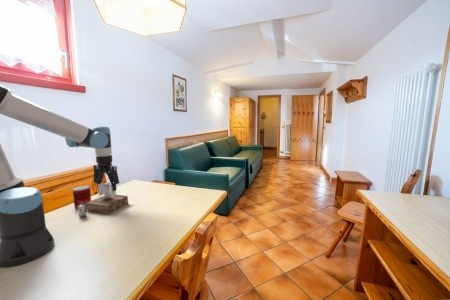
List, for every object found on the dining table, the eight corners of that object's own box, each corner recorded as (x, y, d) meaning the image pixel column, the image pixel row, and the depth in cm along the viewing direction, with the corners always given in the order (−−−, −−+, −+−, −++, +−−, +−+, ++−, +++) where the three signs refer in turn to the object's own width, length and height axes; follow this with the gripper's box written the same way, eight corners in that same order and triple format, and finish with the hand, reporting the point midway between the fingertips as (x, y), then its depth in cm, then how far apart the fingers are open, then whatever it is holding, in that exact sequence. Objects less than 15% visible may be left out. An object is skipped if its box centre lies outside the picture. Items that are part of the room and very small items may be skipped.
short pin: (82, 218, 98) (81, 207, 97) (77, 217, 99) (76, 206, 98) (87, 215, 101) (86, 204, 100) (83, 214, 102) (82, 203, 101)
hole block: (108, 214, 102) (107, 205, 101) (87, 211, 105) (86, 202, 105) (128, 204, 115) (127, 195, 114) (108, 201, 119) (108, 193, 118)
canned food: (94, 203, 116) (92, 185, 115) (83, 209, 108) (81, 190, 107) (82, 203, 117) (80, 185, 115) (71, 208, 109) (68, 189, 107)
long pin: (108, 209, 108) (106, 184, 106) (104, 208, 109) (102, 184, 107) (113, 206, 111) (110, 183, 109) (108, 206, 112) (106, 182, 110)
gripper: (124, 154, 107) (127, 194, 110) (95, 153, 112) (98, 191, 115) (113, 157, 100) (117, 199, 103) (82, 155, 105) (86, 196, 108)
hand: (107, 195), depth 109 cm, fingers open, 8 cm apart
